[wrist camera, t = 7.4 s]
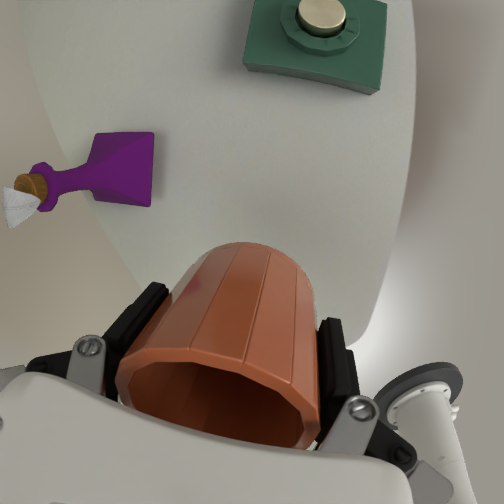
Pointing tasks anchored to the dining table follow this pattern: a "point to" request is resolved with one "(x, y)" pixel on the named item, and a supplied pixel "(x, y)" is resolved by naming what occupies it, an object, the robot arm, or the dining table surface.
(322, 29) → the metal button cap
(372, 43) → the push button base
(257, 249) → the cup
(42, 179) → the perfume bottle
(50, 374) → the robot arm
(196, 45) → the dining table surface
